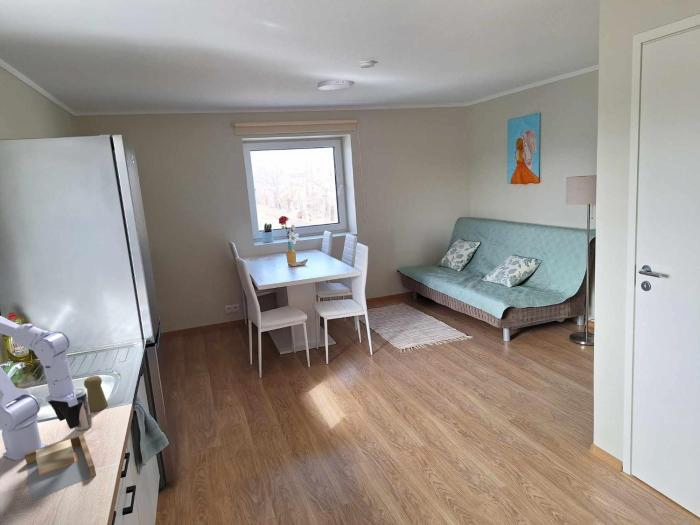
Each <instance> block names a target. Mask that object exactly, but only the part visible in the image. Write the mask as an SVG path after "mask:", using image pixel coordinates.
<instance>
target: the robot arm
mask: <svg viewBox="0 0 700 525" xmlns="http://www.w3.org/2000/svg"><path fill="white" fill-rule="evenodd" d="M0 334H1V335H4V336H7V337H10V338H11V339H12V342H13V343H14V344H15V345H18V346H20V347H23V348H26V349H28V350H31V351H33V353H34V355H35V356H36V357H37V358H38V359H39V361H40V362H39V363H40V365H41V366H43V370H44V375H45V379H46V383H47V389H48V392H49V395H48V396H45V398H44V399H45V401H46V402H47V403H48V404H49V405H50V407H51V408H52V409H53V411H54V413H55V414H56V417H57V419H58V420H59V421H60V422H62V421H64V420H65V421H66V424H67V427H68V428H69V429H70V430H73V429H75V427H77V426H79V416H80V410H81V407H82V405H83V401H82V400H78V401H77V398H76V397H75V395H76V391H75V390H76V388H74V387H75V386H74V381H73V377H72V373H71V368H70V363H69V359H68V358H69V357H68V355H67V350H69V348H70V346H71V343H70V342H71V341H70V339H69V337H68V336H67V335H66V334H65V333H64V332H62V331H60V330H59V331H58V330H57V331H54V332H53V331H50V332H49V331H48V330H44V329H42V328H39V327H37V326H34V324H33V323H29V322H28V323H23V324H21V325H20V324H18V323H16V322H13V320H9V319H7V318H6V317H4V316H3V315H2V316H1V315H0ZM40 403H41V402H40V400H39V399H38V398H37V397H36V396H34V395H32V394H31V392H30V391H29V390H28V389H26V388H21V387H20V388H18V387H16V385H15V384H14V382H13V381H12V379H11V378H10V377H9V375H8V374H7V373H6V371H5V370H4V369H3V367H2V366H1V365H0V429H1V437H2V442H3V445H4V449H5V452H3V453H2V456H3V455H4V457H6V458H8V459H10V460H13V461H17V460H20V459H23V458H25V453H28V452H30V451H33V450H36V449H39V448H42V447H45V446H48V445H49V444H46V443H44V442H42V439H41V436H40V431H39V427H38V422H37V418H38V417H39V416H38V414H39V412H40V411H41V404H40Z"/></svg>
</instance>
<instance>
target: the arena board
mask: <svg viewBox="0 0 700 525" xmlns="http://www.w3.org/2000/svg"><path fill="white" fill-rule="evenodd" d="M73 453H74V459H75V461H74V462H71V463H68V464H66V465H63V466H60V467H57V468H54V469H52V470H49V471H46V472H43V473H39V469H38V465H37V462H35V463H33V464H30V465H27V464H26V469H27V479H28V488H29V498H30V499H29V500H30V502H33V501H35V500H39V499H40V498H43V497H45V496H48V495H51V494H53V493H56V492H59V491H60V490H63V489H66V488H68V487H70V486H73V485H75V484H78V483H81V482H83V481H86V480H88V479H90V478H91V479H92V477H91V476H90V473H89V470H88V467H87V464H86V461H85V457H84V454H83V451H82V448H81V446H80V447H77V448H74V449H73ZM96 476H97V474H96V475H95V476H94V477H96Z"/></svg>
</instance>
